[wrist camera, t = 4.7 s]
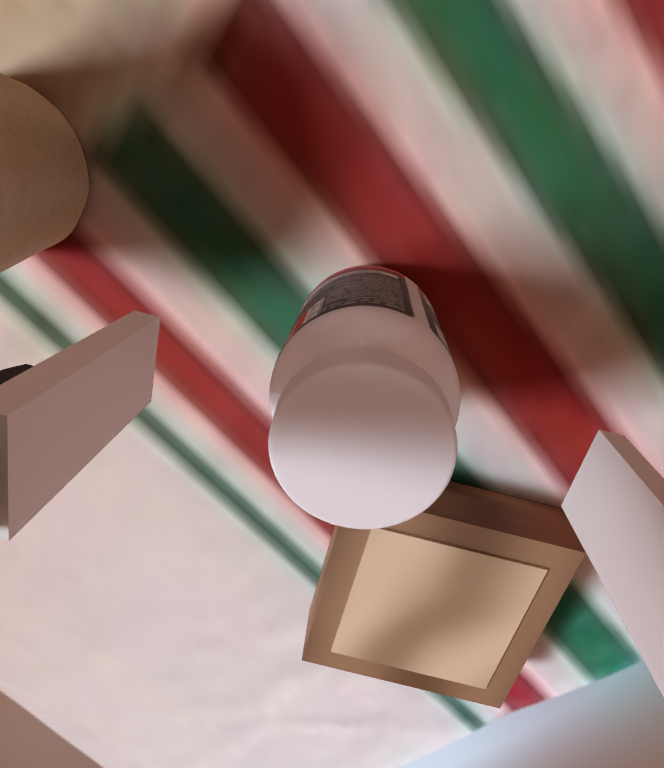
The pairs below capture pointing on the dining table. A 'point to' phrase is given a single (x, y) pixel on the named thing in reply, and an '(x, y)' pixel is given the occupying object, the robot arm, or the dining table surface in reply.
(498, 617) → the base block
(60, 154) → the flower pot
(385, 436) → the pill bottle
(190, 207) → the dining table surface
